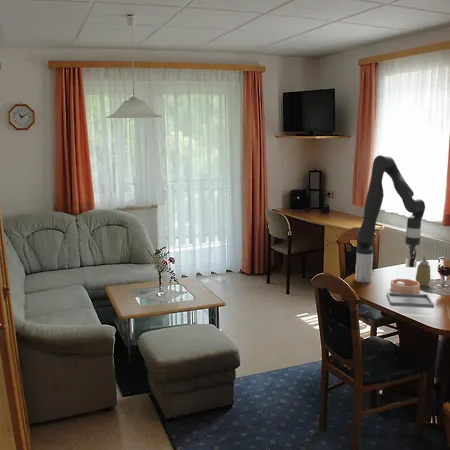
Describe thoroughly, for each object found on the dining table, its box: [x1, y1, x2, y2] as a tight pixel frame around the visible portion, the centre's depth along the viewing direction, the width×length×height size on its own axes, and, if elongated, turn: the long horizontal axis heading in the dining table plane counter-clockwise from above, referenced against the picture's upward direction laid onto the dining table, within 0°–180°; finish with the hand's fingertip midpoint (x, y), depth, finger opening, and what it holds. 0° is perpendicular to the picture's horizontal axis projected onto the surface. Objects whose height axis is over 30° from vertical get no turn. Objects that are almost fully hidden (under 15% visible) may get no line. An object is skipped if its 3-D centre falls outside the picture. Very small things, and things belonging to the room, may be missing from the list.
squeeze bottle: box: [415, 254, 431, 287], centre depth 293 cm, size 8×8×18 cm
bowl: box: [390, 278, 421, 294], centre depth 284 cm, size 15×15×5 cm
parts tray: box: [386, 291, 435, 308], centre depth 267 cm, size 21×16×2 cm
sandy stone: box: [405, 257, 418, 268], centre depth 280 cm, size 5×4×4 cm
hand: (410, 265), depth 281 cm, fingers closed on sandy stone, 4 cm apart
